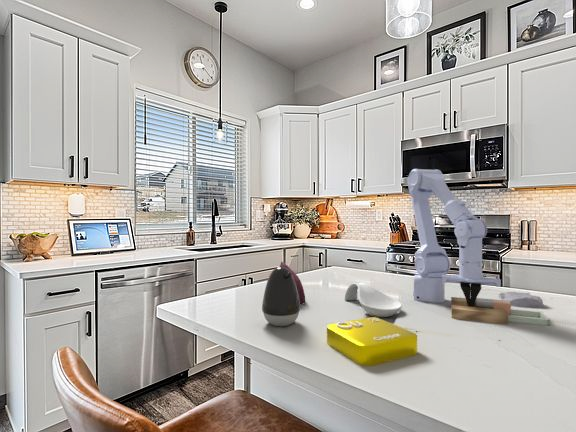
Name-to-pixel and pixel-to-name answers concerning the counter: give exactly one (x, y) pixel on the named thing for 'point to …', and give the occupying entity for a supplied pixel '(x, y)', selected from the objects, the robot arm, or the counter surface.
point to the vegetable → (298, 284)
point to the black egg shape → (281, 298)
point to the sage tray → (542, 321)
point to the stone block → (522, 299)
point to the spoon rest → (373, 300)
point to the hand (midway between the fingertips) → (470, 309)
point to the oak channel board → (476, 312)
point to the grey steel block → (484, 303)
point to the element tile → (371, 341)
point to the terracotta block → (502, 305)
